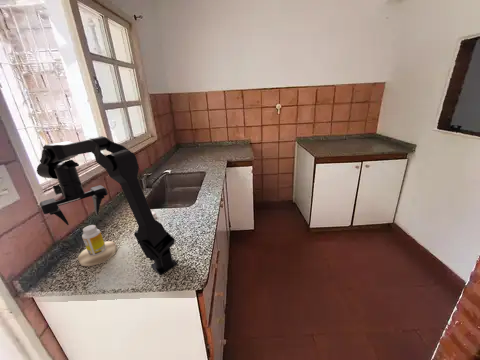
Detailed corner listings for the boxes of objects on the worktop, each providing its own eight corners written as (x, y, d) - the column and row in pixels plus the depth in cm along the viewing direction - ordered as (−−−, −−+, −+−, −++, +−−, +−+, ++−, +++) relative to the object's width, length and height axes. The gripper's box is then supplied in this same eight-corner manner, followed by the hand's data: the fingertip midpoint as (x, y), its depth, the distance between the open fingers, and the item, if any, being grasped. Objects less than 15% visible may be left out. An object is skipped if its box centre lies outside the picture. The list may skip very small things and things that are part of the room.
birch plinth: (121, 252, 81) (120, 249, 80) (84, 271, 73) (83, 268, 72) (110, 240, 88) (109, 237, 88) (75, 256, 80) (74, 253, 80)
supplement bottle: (109, 245, 83) (101, 222, 79) (101, 255, 78) (93, 231, 74) (93, 247, 82) (85, 224, 79) (85, 257, 77) (76, 233, 74)
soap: (157, 217, 104) (156, 212, 103) (148, 223, 100) (147, 217, 99) (144, 214, 108) (143, 209, 107) (135, 219, 104) (133, 214, 103)
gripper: (93, 168, 85) (103, 203, 90) (29, 182, 72) (46, 222, 78) (102, 173, 78) (113, 211, 83) (34, 190, 65) (52, 234, 71)
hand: (83, 219), depth 79 cm, fingers open, 9 cm apart
